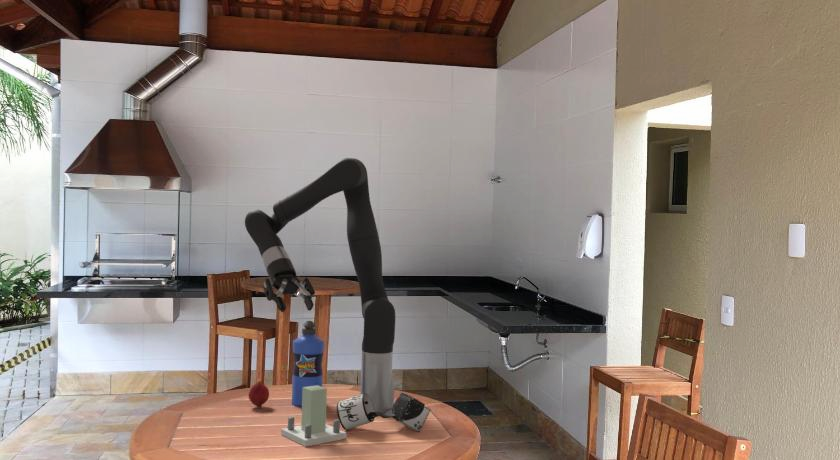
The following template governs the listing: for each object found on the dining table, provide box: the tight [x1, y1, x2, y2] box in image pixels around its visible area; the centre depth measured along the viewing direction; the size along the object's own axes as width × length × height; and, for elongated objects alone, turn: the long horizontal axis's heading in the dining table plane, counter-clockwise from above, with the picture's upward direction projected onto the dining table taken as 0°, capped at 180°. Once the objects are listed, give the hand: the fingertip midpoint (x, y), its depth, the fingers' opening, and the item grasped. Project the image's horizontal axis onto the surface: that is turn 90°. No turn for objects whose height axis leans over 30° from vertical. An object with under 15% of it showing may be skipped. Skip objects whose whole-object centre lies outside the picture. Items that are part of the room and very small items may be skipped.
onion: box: [248, 379, 270, 408], centre depth 216 cm, size 6×6×8 cm
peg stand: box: [280, 416, 347, 447], centre depth 189 cm, size 12×12×4 cm
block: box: [300, 385, 328, 434], centre depth 189 cm, size 4×4×11 cm
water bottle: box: [291, 320, 325, 408], centre depth 222 cm, size 9×9×25 cm
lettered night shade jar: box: [336, 392, 432, 433], centre depth 197 cm, size 25×10×10 cm, turn 99°
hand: (297, 309), depth 204 cm, fingers open, 8 cm apart
